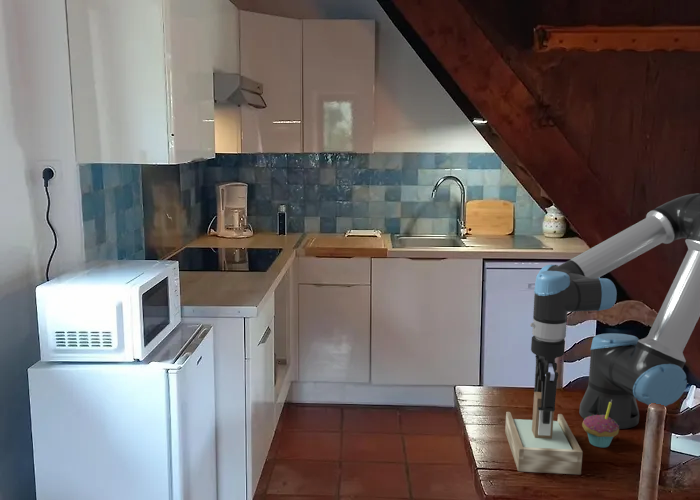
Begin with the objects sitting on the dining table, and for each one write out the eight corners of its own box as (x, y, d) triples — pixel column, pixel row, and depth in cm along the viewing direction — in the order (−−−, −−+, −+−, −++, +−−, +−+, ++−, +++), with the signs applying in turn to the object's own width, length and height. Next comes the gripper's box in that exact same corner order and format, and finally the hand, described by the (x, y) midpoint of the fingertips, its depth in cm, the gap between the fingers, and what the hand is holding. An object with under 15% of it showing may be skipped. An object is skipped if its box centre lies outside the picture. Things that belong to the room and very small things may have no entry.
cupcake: (618, 439, 168) (622, 394, 166) (616, 454, 160) (620, 407, 158) (582, 432, 171) (586, 389, 169) (579, 447, 164) (582, 401, 161)
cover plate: (557, 426, 168) (560, 383, 166) (572, 457, 152) (576, 410, 150) (512, 424, 169) (515, 381, 167) (524, 455, 153) (527, 408, 151)
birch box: (560, 434, 170) (562, 414, 169) (580, 474, 151) (582, 452, 150) (505, 431, 171) (506, 411, 170) (518, 471, 152) (519, 449, 151)
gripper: (525, 325, 164) (520, 414, 169) (539, 348, 148) (532, 446, 152) (556, 326, 164) (550, 415, 168) (573, 349, 147) (566, 447, 151)
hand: (542, 430), depth 160 cm, fingers closed on cover plate, 4 cm apart
